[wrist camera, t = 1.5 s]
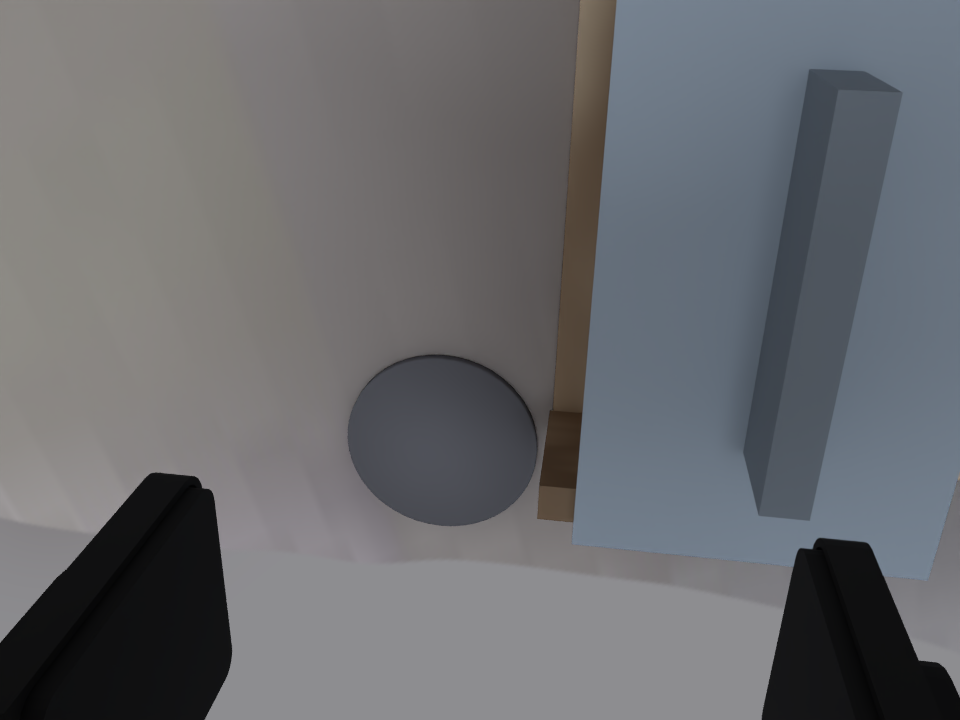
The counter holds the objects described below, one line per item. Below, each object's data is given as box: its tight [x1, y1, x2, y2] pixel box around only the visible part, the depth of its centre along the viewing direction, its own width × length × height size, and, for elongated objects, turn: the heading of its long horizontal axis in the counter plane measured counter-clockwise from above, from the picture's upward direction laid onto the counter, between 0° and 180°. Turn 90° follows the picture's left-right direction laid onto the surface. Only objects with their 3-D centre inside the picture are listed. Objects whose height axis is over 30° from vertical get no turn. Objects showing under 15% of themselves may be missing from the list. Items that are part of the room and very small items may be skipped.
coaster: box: [348, 355, 537, 526], centre depth 34 cm, size 7×7×1 cm
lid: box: [572, 0, 960, 581], centre depth 22 cm, size 10×17×4 cm, turn 178°
